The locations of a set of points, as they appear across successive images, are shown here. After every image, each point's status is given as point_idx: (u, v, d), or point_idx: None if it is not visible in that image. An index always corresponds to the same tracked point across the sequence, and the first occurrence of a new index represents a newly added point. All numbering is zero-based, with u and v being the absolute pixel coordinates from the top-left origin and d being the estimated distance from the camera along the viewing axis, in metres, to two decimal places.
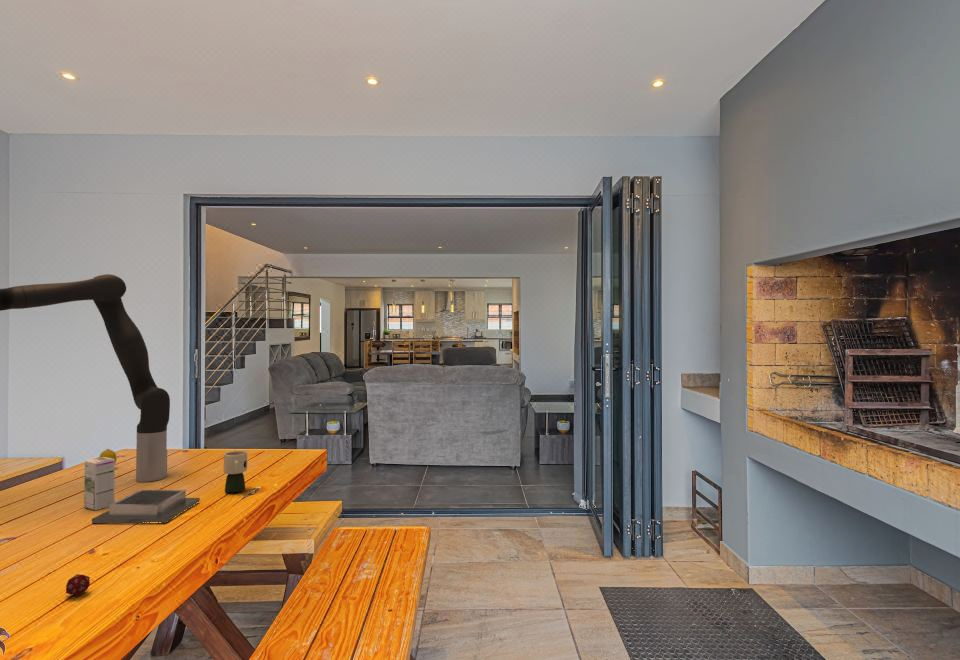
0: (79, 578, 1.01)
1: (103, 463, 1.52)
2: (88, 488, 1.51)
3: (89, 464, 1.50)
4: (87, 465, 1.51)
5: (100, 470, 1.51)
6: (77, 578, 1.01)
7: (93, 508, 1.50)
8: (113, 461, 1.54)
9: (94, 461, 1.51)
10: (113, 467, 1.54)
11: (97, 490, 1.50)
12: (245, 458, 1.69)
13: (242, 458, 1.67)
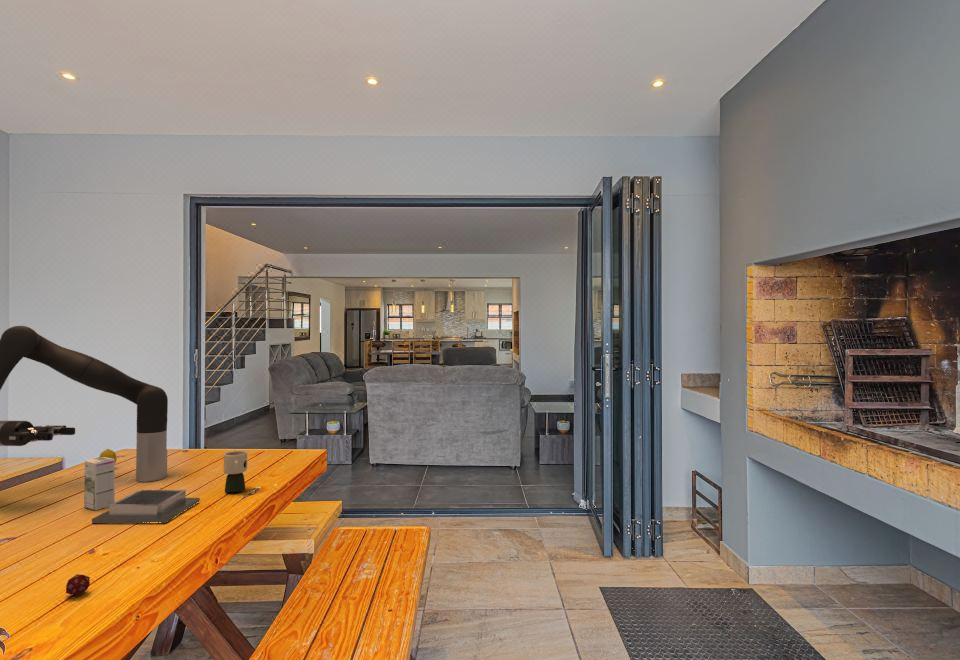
0: (79, 578, 1.01)
1: (103, 463, 1.52)
2: (88, 488, 1.51)
3: (89, 464, 1.50)
4: (87, 465, 1.51)
5: (100, 470, 1.51)
6: (77, 578, 1.01)
7: (93, 508, 1.50)
8: (113, 461, 1.54)
9: (94, 461, 1.51)
10: (113, 467, 1.54)
11: (97, 490, 1.50)
12: (245, 458, 1.69)
13: (242, 458, 1.67)
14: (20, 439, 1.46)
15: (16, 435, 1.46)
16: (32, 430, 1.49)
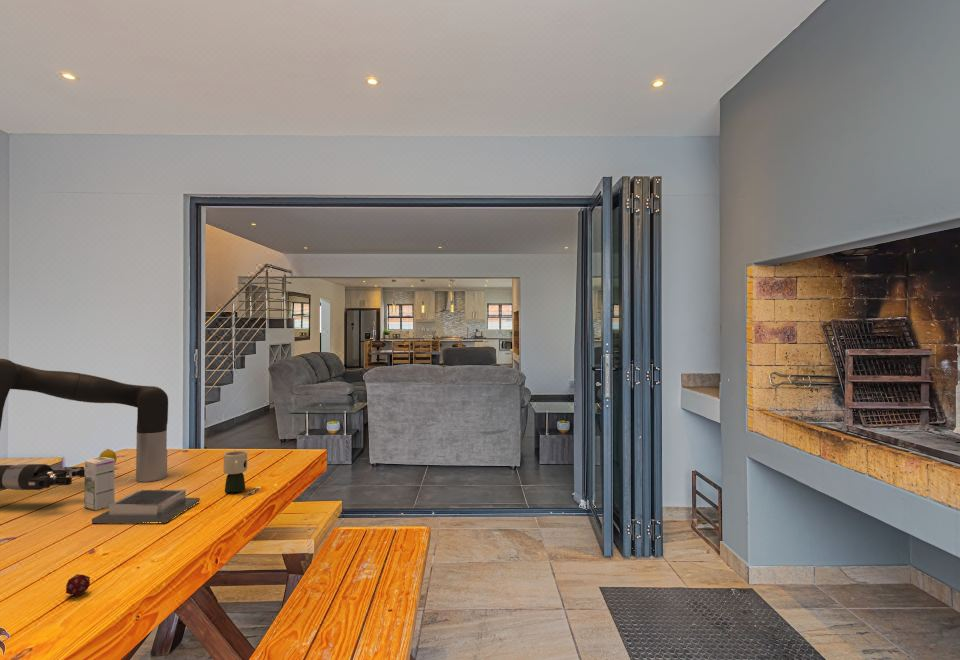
0: (79, 578, 1.01)
1: (103, 463, 1.52)
2: (87, 488, 1.51)
3: (89, 464, 1.50)
4: (87, 465, 1.51)
5: (100, 470, 1.51)
6: (77, 578, 1.01)
7: (93, 508, 1.50)
8: (113, 461, 1.54)
9: (94, 461, 1.51)
10: (113, 467, 1.54)
11: (97, 490, 1.50)
12: (245, 458, 1.69)
13: (242, 458, 1.67)
14: (39, 485, 1.46)
15: (35, 481, 1.46)
16: (51, 475, 1.49)
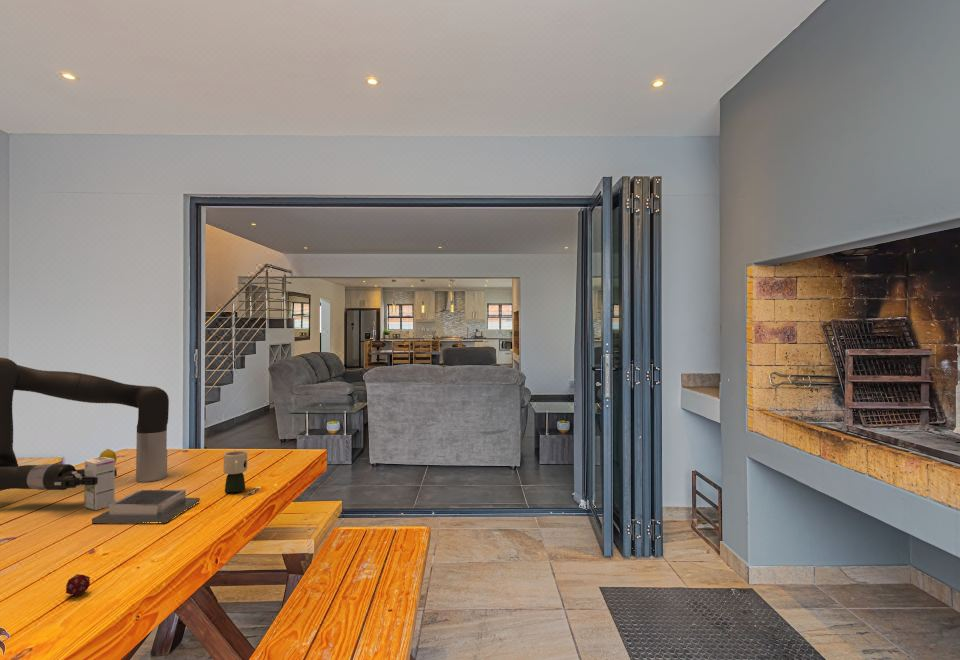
0: (79, 578, 1.01)
1: (103, 463, 1.52)
2: (88, 488, 1.51)
3: (89, 464, 1.50)
4: (87, 465, 1.51)
5: (100, 470, 1.51)
6: (77, 578, 1.01)
7: (93, 508, 1.50)
8: (113, 461, 1.54)
9: (94, 461, 1.51)
10: (113, 467, 1.54)
11: (97, 490, 1.50)
12: (245, 458, 1.69)
13: (242, 458, 1.67)
14: (66, 484, 1.46)
15: (62, 481, 1.46)
16: (76, 474, 1.49)
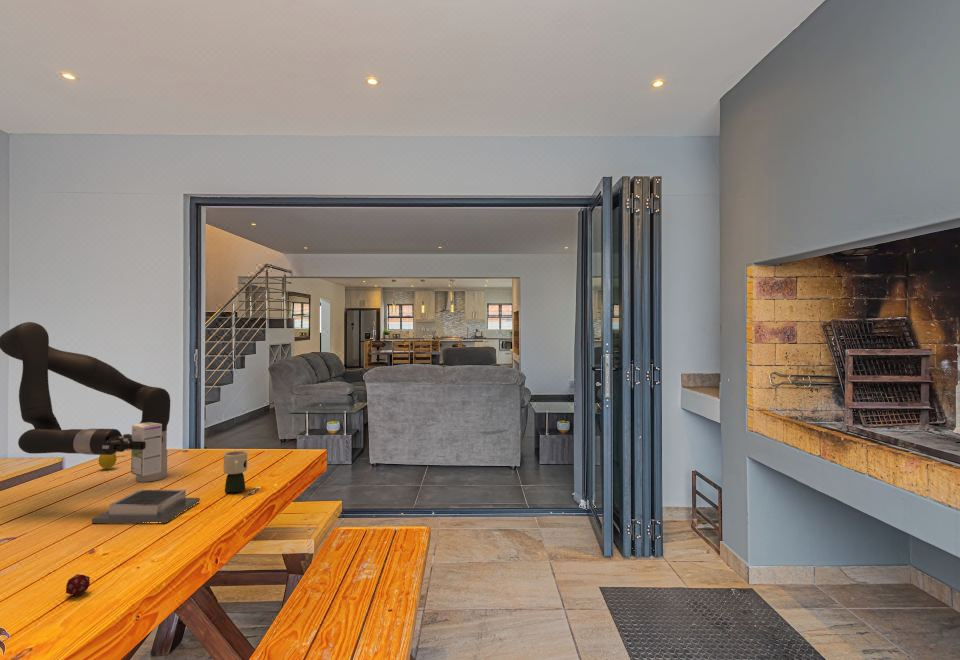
0: (79, 578, 1.01)
1: (151, 427, 1.47)
2: (135, 453, 1.46)
3: (137, 428, 1.46)
4: (135, 429, 1.46)
5: (148, 434, 1.46)
6: (77, 578, 1.01)
7: (141, 473, 1.45)
8: (160, 426, 1.50)
9: (142, 425, 1.47)
10: (160, 432, 1.50)
11: (145, 455, 1.46)
12: (245, 458, 1.69)
13: (242, 458, 1.67)
14: (114, 448, 1.42)
15: (110, 444, 1.42)
16: (124, 439, 1.45)
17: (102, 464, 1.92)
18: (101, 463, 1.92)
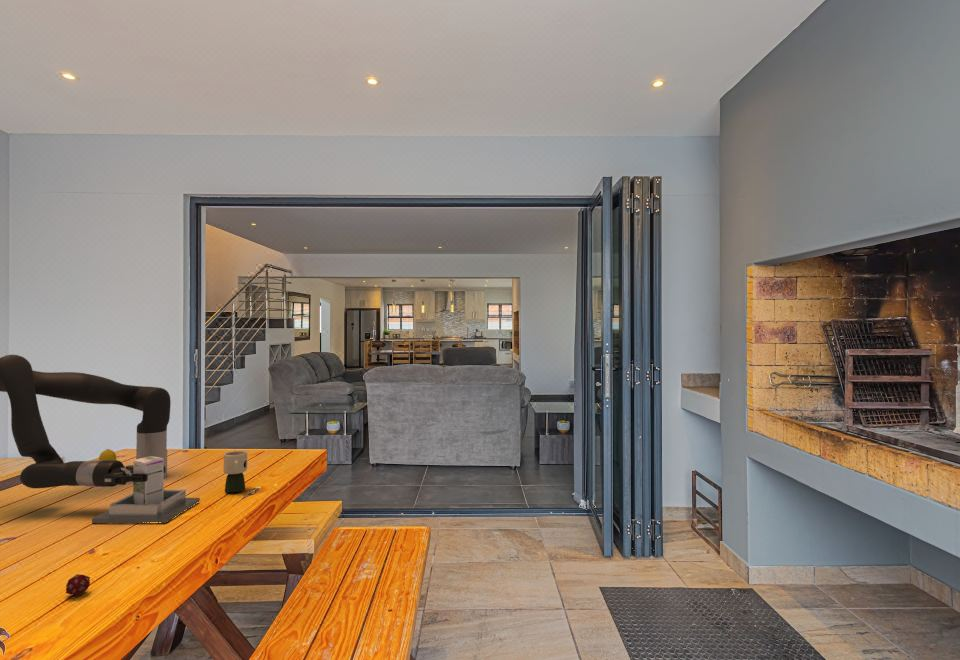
0: (79, 578, 1.01)
1: (153, 462, 1.47)
2: (137, 489, 1.46)
3: (139, 463, 1.46)
4: (137, 465, 1.46)
5: (150, 470, 1.46)
6: (77, 578, 1.01)
7: None
8: (162, 460, 1.49)
9: (144, 460, 1.46)
10: (162, 467, 1.49)
11: (147, 490, 1.45)
12: (245, 458, 1.69)
13: (242, 458, 1.67)
14: (116, 481, 1.42)
15: (112, 477, 1.42)
16: (126, 471, 1.45)
17: None
18: None
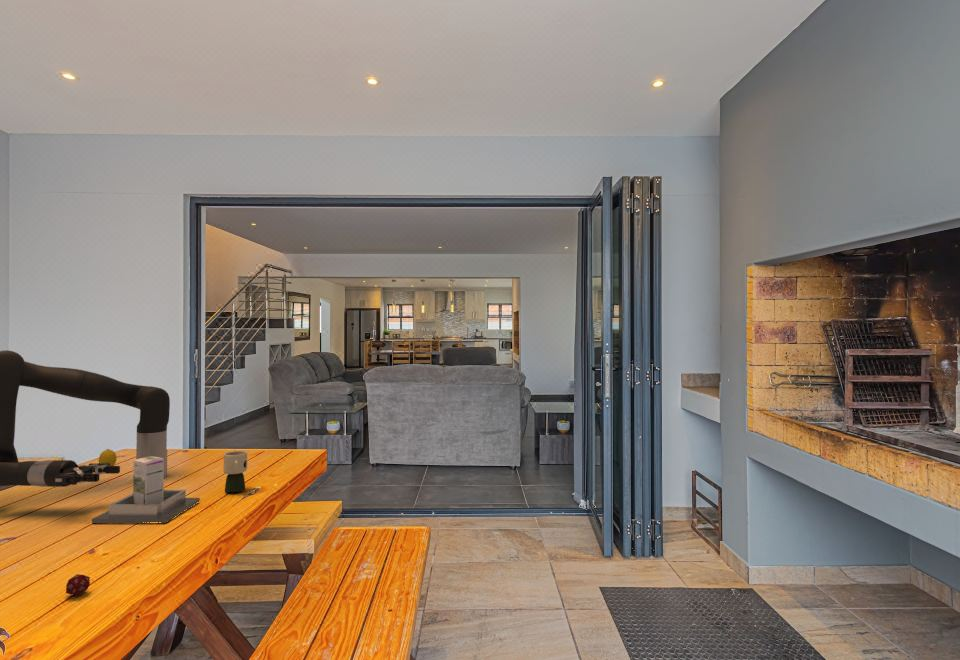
0: (79, 578, 1.01)
1: (153, 462, 1.47)
2: (137, 489, 1.46)
3: (139, 463, 1.46)
4: (137, 465, 1.46)
5: (150, 470, 1.46)
6: (77, 578, 1.01)
7: None
8: (162, 460, 1.49)
9: (144, 460, 1.46)
10: (162, 467, 1.49)
11: (147, 490, 1.45)
12: (245, 458, 1.69)
13: (242, 458, 1.67)
14: (67, 481, 1.41)
15: (62, 477, 1.41)
16: (78, 471, 1.45)
17: None
18: None
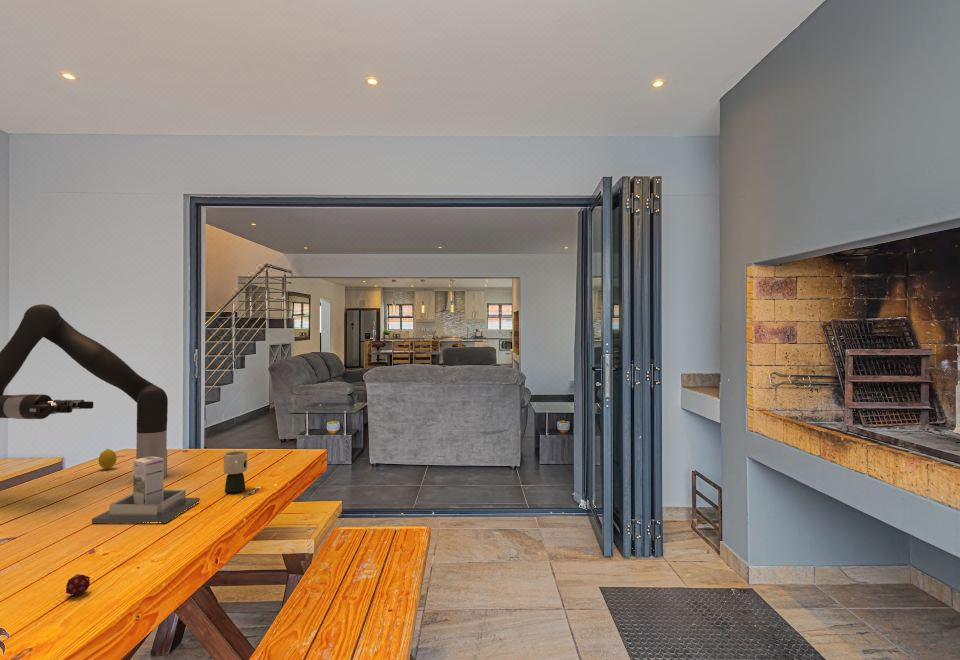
0: (79, 578, 1.01)
1: (153, 462, 1.47)
2: (137, 489, 1.46)
3: (139, 463, 1.46)
4: (137, 465, 1.46)
5: (150, 470, 1.46)
6: (77, 578, 1.01)
7: None
8: (162, 460, 1.49)
9: (144, 460, 1.46)
10: (162, 467, 1.49)
11: (147, 490, 1.45)
12: (245, 458, 1.69)
13: (242, 458, 1.67)
14: (40, 411, 1.48)
15: (36, 407, 1.48)
16: (52, 403, 1.51)
17: (102, 464, 1.92)
18: (101, 463, 1.92)
